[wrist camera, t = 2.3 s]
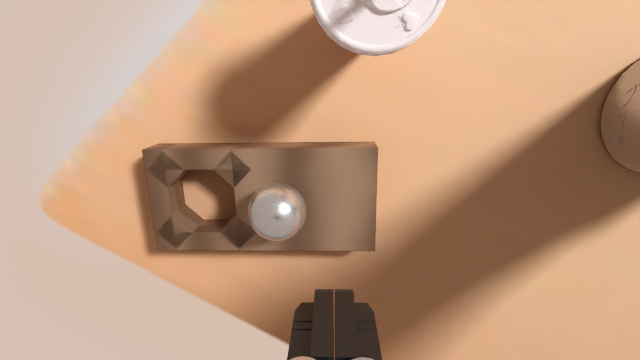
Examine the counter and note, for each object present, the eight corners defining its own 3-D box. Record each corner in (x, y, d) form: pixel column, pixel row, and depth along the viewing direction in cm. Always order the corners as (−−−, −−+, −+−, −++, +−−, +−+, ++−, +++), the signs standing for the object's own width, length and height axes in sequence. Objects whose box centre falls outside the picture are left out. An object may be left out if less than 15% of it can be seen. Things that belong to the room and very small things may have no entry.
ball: (307, 175, 26) (302, 192, 22) (309, 226, 27) (304, 251, 23) (253, 176, 26) (238, 193, 22) (256, 226, 27) (243, 251, 23)
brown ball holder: (374, 141, 27) (377, 148, 25) (371, 236, 30) (374, 250, 27) (158, 143, 28) (142, 150, 26) (172, 236, 30) (157, 249, 28)
